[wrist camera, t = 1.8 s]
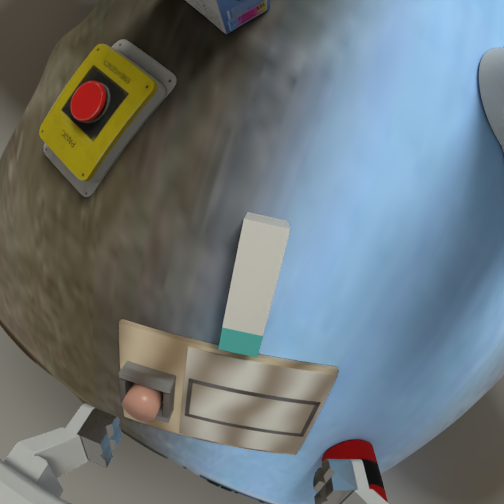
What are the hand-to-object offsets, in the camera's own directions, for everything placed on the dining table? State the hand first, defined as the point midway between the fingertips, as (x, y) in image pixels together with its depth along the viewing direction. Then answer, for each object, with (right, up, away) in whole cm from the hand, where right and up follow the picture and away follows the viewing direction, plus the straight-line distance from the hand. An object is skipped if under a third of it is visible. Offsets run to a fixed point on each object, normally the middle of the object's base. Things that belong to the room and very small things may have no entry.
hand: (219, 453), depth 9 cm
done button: (-11, -9, +21) cm, 25 cm away
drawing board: (-3, -10, +23) cm, 25 cm away
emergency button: (-14, +21, +16) cm, 30 cm away
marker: (+1, +5, +19) cm, 19 cm away
